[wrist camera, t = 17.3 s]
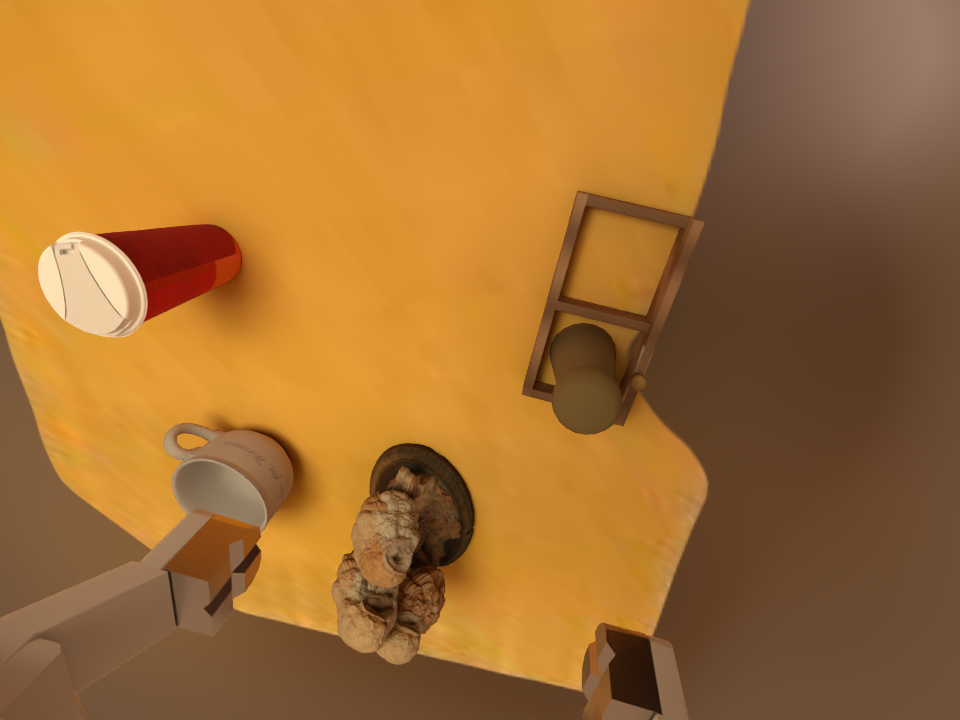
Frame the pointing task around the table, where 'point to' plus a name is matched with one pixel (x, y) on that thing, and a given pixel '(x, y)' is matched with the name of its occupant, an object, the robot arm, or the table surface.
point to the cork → (585, 379)
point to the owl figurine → (402, 552)
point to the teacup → (230, 474)
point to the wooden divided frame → (645, 324)
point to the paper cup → (133, 274)
